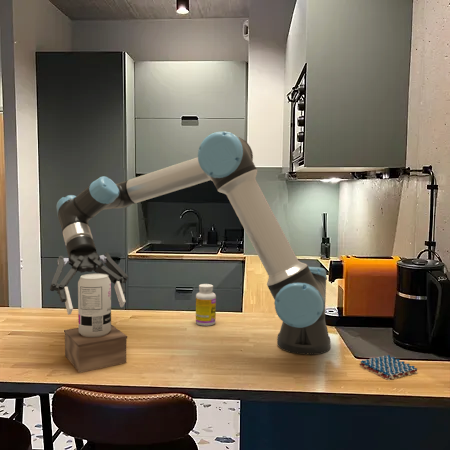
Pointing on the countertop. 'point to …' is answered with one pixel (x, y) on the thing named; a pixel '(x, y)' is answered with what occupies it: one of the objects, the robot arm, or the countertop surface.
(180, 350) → the countertop surface
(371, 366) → the woven mat
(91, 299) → the supplement can
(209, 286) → the supplement bottle
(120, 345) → the walnut tea box
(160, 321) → the countertop surface
